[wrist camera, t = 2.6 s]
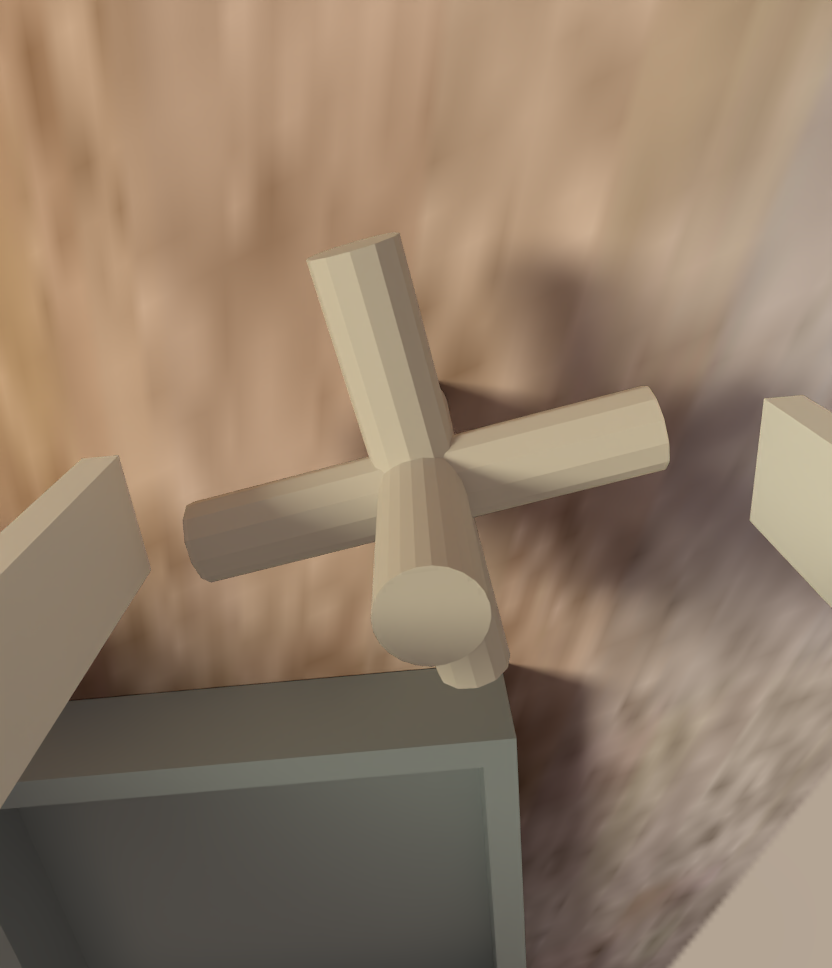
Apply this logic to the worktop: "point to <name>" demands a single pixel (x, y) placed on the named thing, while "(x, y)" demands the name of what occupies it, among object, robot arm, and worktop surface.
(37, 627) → the robot arm
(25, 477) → the worktop surface
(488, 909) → the tray
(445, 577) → the pipe connector
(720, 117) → the worktop surface
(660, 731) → the worktop surface
